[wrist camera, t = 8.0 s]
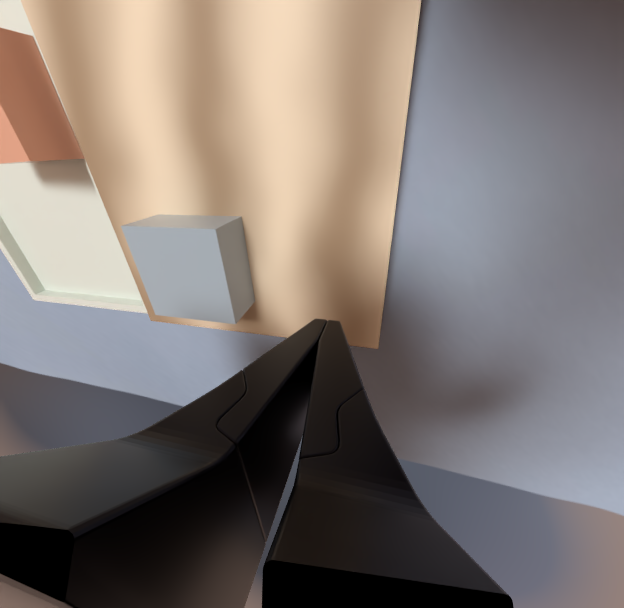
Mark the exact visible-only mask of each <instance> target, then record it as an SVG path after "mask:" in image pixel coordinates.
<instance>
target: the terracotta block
mask: <svg viewBox="0 0 624 608" xmlns="http://www.w3.org/2000/svg"><path fill="white" fill-rule="evenodd" d="M73 159H85V158H84V156H83V153H82V151H81V148H80V146H79V144H78V141H77V139H76V137H75V134H74V132H73V130H72V127H71V125H70V123H69V120H68V118H67V116H66V113H65V111H64V108H63V106H62V104H61V101H60V99H59V97H58V94H57V92H56V90H55V87H54V85H53V83H52V80H51V78H50V76H49V73H48V71H47V69H46V66H45V64H44V61H43V59H42V57H41V54H40V52H39V50H38V47H37V45H36V43H35V40H34V38H33V36H31V35H27V34H23V33H19V32H16V31H12V30H8V29H4V28H0V164H14V163H34V162H47V161H60V160H73Z"/></svg>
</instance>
